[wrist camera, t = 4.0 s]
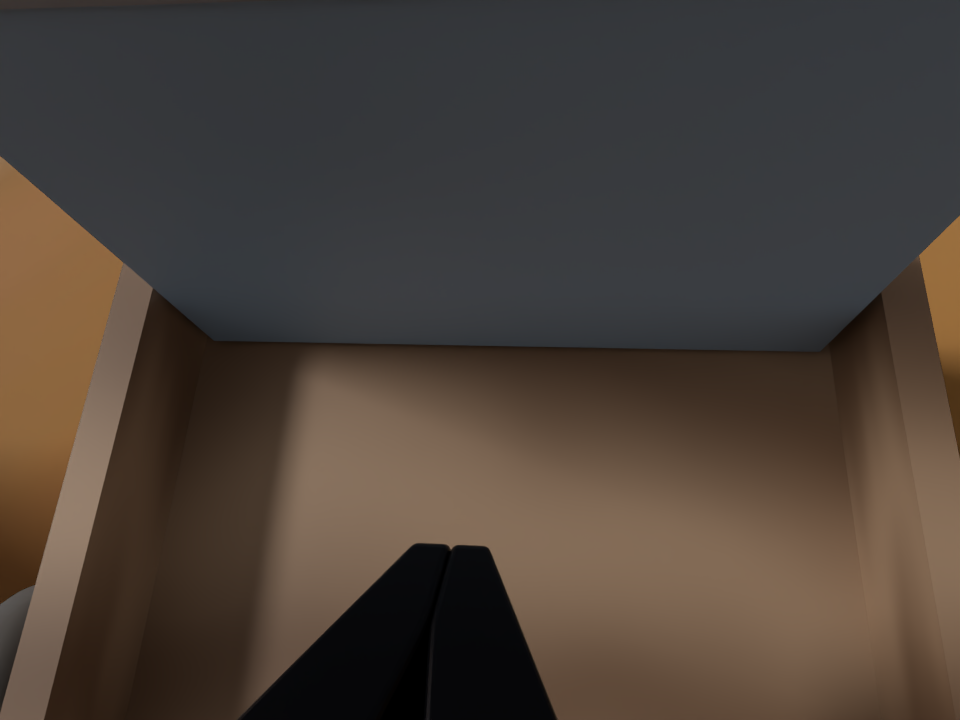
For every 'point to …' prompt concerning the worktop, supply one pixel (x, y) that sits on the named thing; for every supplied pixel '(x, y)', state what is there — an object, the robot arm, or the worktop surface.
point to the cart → (508, 518)
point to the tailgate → (496, 161)
